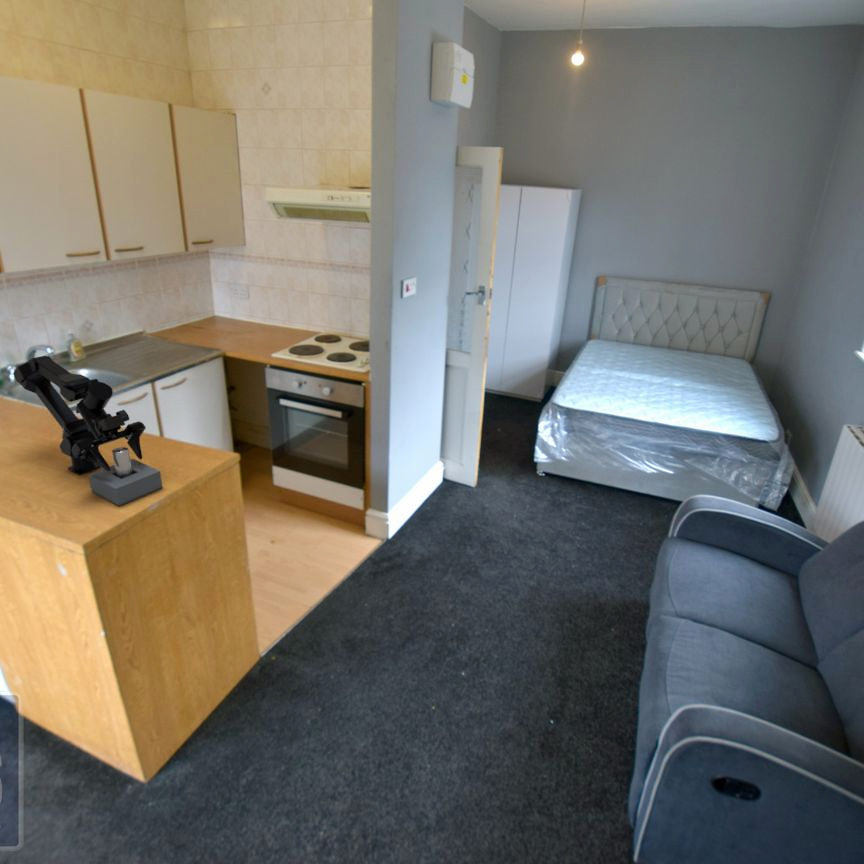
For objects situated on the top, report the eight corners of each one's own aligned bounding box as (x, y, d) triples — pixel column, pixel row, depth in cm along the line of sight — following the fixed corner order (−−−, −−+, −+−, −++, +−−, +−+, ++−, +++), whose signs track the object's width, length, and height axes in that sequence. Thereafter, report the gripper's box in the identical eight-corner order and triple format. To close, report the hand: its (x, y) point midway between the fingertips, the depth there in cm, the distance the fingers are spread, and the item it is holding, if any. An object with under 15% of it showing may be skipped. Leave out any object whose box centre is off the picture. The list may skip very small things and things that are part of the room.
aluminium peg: (116, 491, 161) (109, 453, 156) (123, 484, 164) (116, 446, 160) (130, 492, 161) (123, 453, 156) (137, 485, 164) (131, 447, 160)
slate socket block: (91, 492, 161) (88, 474, 159) (135, 475, 171) (132, 458, 169) (119, 506, 155) (115, 488, 152) (162, 488, 165) (160, 471, 163)
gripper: (68, 413, 147) (100, 463, 146) (137, 394, 162) (166, 440, 161) (58, 433, 154) (89, 481, 153) (124, 413, 169) (153, 457, 168)
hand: (125, 464), depth 159 cm, fingers open, 9 cm apart
